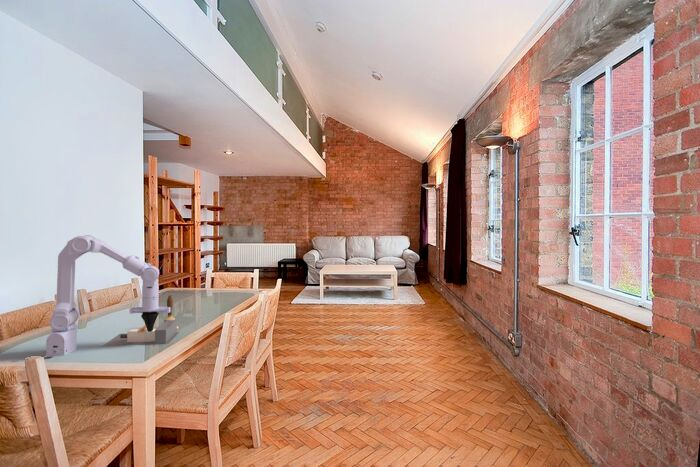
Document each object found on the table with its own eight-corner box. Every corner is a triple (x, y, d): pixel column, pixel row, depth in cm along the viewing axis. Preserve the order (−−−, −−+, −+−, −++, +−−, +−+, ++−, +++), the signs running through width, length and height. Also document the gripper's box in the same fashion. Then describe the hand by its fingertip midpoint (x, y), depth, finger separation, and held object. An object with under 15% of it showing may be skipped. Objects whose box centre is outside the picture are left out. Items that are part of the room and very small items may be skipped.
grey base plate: (168, 345, 147) (168, 329, 147) (102, 347, 143) (102, 331, 143) (179, 333, 163) (179, 319, 162) (120, 335, 159) (120, 320, 158)
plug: (164, 341, 150) (164, 328, 150) (118, 342, 147) (118, 329, 147) (168, 338, 154) (168, 325, 154) (123, 339, 151) (123, 326, 151)
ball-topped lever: (142, 332, 146) (142, 330, 146) (135, 332, 145) (135, 330, 145) (155, 322, 161) (155, 319, 161) (149, 322, 160) (149, 320, 160)
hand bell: (183, 329, 170) (183, 294, 169) (166, 334, 162) (166, 297, 162) (172, 326, 174) (172, 292, 173) (155, 330, 167) (155, 295, 166)
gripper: (172, 294, 152) (172, 327, 153) (134, 295, 150) (134, 328, 150) (167, 298, 145) (167, 332, 146) (127, 298, 143) (127, 333, 143)
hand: (150, 330), depth 147 cm, fingers closed
